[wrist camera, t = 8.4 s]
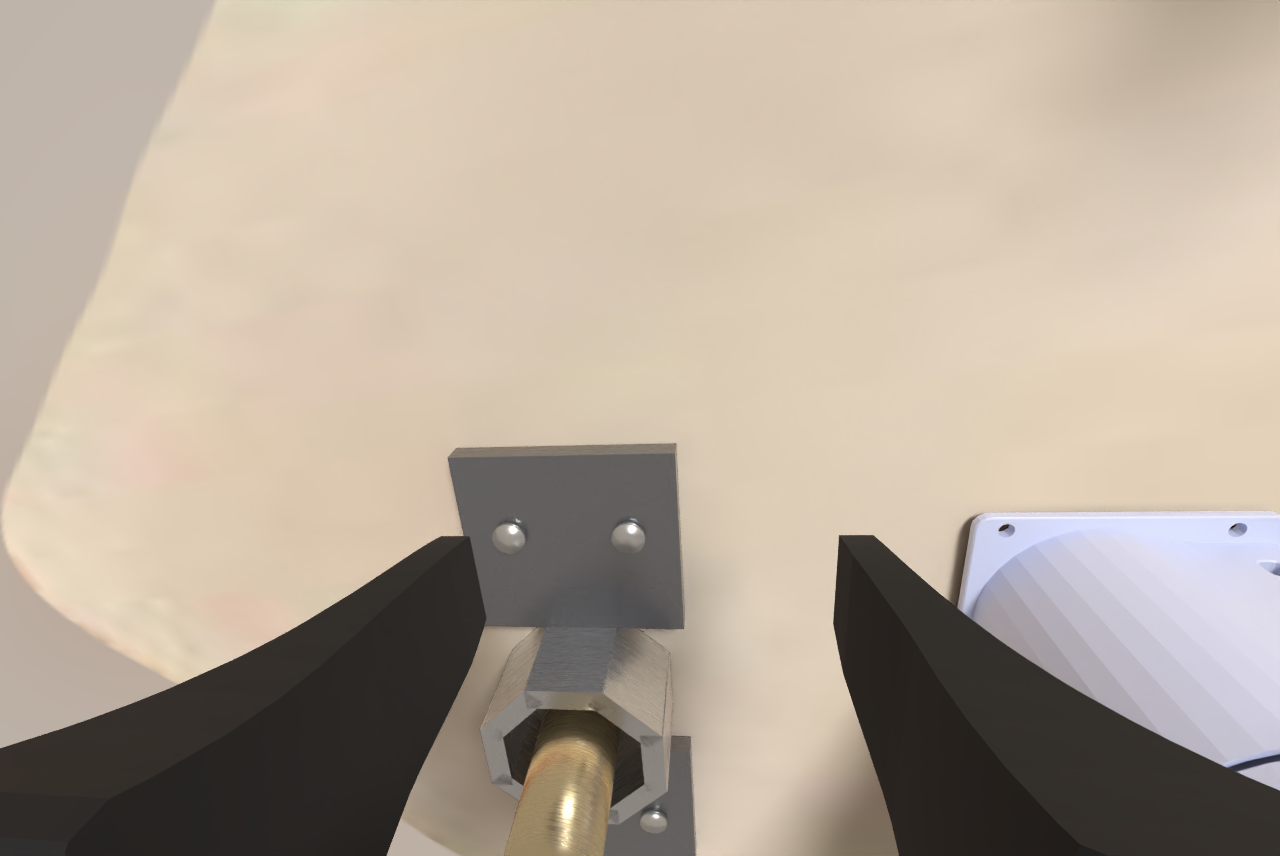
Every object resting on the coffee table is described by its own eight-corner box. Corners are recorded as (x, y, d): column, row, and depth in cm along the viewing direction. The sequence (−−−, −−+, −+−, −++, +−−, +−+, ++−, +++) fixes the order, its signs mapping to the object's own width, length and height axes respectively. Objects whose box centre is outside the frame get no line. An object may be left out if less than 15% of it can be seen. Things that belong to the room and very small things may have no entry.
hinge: (456, 448, 22) (405, 503, 18) (676, 443, 21) (670, 500, 17) (535, 839, 30) (511, 931, 26) (696, 848, 29) (694, 946, 25)
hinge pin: (628, 647, 25) (598, 849, 17) (628, 702, 26) (599, 912, 18) (556, 642, 25) (496, 838, 17) (559, 696, 26) (504, 902, 19)
